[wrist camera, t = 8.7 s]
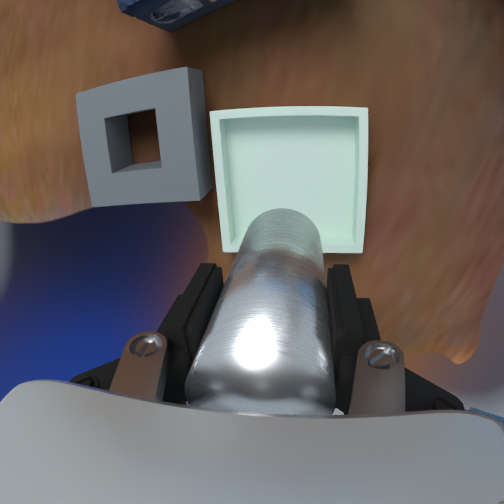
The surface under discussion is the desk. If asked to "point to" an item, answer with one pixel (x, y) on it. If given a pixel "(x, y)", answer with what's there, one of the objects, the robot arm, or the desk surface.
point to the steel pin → (269, 326)
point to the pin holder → (169, 134)
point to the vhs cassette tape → (169, 11)
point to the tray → (293, 170)
